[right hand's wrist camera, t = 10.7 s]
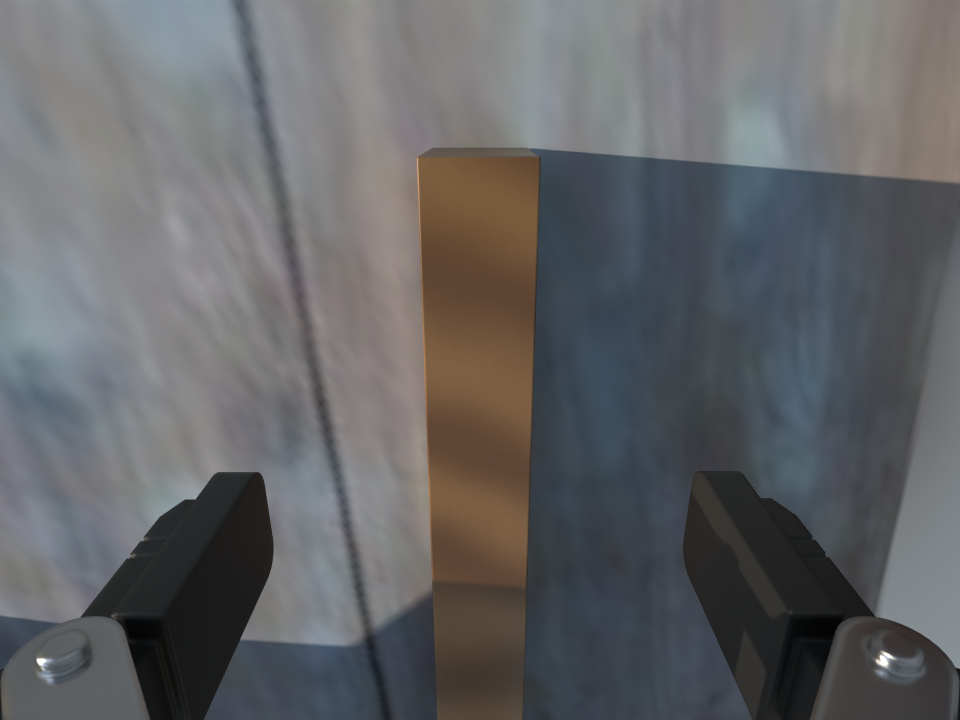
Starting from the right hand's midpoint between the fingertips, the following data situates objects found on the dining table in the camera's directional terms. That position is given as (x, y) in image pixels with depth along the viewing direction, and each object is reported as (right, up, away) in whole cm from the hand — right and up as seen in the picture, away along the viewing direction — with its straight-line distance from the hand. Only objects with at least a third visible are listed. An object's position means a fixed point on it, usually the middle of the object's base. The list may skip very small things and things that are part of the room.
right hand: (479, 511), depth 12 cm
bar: (0, -23, +31) cm, 38 cm away
